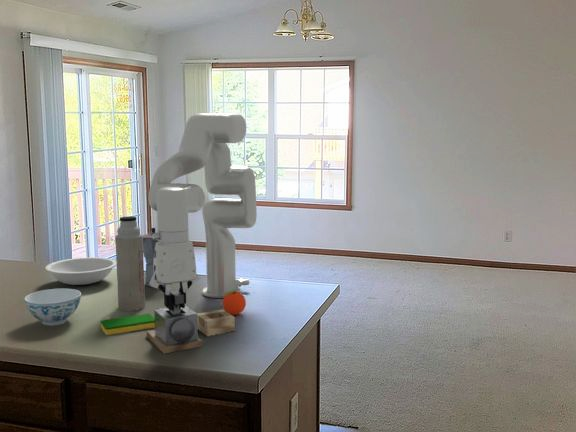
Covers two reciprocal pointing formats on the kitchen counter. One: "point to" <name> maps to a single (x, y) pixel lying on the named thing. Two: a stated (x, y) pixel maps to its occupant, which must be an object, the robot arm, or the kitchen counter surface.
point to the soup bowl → (81, 270)
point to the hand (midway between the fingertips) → (175, 307)
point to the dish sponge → (127, 324)
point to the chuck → (176, 326)
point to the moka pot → (149, 254)
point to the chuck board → (172, 347)
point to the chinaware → (53, 305)
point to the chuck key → (176, 301)
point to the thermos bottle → (130, 265)
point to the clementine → (234, 302)
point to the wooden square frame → (215, 322)
